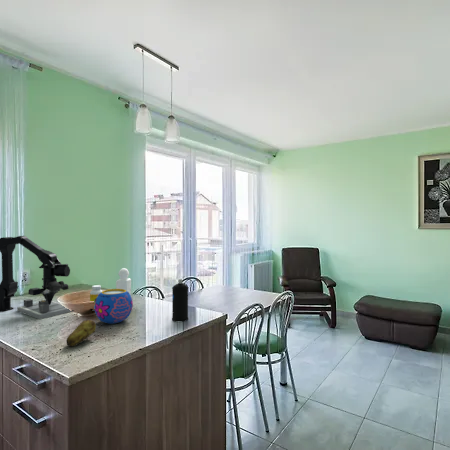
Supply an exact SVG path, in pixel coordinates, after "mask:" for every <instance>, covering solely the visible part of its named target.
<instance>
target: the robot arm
mask: <svg viewBox="0 0 450 450" xmlns="http://www.w3.org/2000/svg"><path fill="white" fill-rule="evenodd" d="M16 245H20V246H22V247H24V248H25V249H26V250H28V251H29V252H31V253H32V254H33V255H36V257H37V259H38V260H39V262H41V265H40V266H38V268H39V269H42V278H41V281H42V285H41V288H40V287H32V288H29V289H28V295H31V296H37V295H43V297H44V300H46V301H48V305H50V304H51V302H52V301H53V299H54V296H55V295H56V294H57V293H59V292H60V291H61V290H63V291H66V290H69V284H67V283H65V282H64V280H59V281H57V280H58V279H57V277H66V278H67V277H69V275H70V274H71V268H70V267H69V264H68V263H63V264H62V262H61V261H60V260H59V258H58V255H57V254H56V253H54V252H52V251H50V250H47V249H44V248H43V247H41V246H39V244H37V243H35V242H34V241H32V240H31V239H29V238H28V237H27V236H26V235H18V236H13V237H12V236H4V237H0V253H1V282H0V312H4V311H8V310H13V309H14V307H13V306H11V305H12V304H11V303H12V301H11V300H12V297H15V294H16V293H17V292H18V289H19V286H18V284H19V281H15V279H14V265H13V264H14V262H13V261H14V260H13V253H14V251H15V249H16Z"/></svg>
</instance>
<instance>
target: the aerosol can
mask: <svg viewBox="0 0 450 450" xmlns="http://www.w3.org/2000/svg"><path fill="white" fill-rule="evenodd" d="M171 289H172V290H171V291H172V294H171V295H172V298H171V299H172V313H171V315H172V317H171V320H172V321H173V320H174V322H176V321H182V322H186V321H188V320H189V289H190V288H189V286H188V285H187V284H186V283H184V282H183V278H178V283H176V284H174V285H173V286H172V287H171ZM185 320H186V321H185Z"/></svg>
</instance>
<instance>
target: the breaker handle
mask: <svg viewBox="0 0 450 450" xmlns="http://www.w3.org/2000/svg"><path fill="white" fill-rule="evenodd" d="M38 303H39V305H43V304H47V305H48V301H46V299H41V300H38Z"/></svg>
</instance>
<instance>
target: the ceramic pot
mask: <svg viewBox="0 0 450 450" xmlns="http://www.w3.org/2000/svg"><path fill="white" fill-rule="evenodd" d="M94 303H95V305H94V309H95V310H94V313H95V315H96V317H97V319H98V321H100V322H103V323H105V324H111V325H113V324H118V323H121V322H123V321H125V320H127V319H128V317H129V316H130V315H131V312H132V310H133V307H134V305H133V304H134V302H133V298H132V294H131V295H130V294H129V292H128V291H126V290H124V289H116V288H109V289H105V290H102V292H101V293H100V294H99V295H98V296H97V298H96V299H95V301H94Z"/></svg>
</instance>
